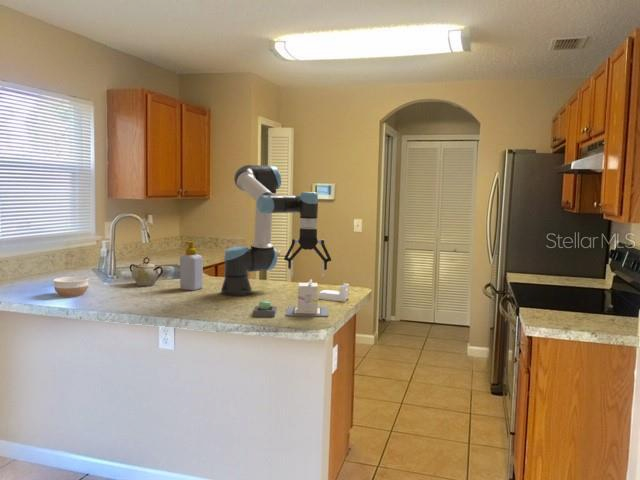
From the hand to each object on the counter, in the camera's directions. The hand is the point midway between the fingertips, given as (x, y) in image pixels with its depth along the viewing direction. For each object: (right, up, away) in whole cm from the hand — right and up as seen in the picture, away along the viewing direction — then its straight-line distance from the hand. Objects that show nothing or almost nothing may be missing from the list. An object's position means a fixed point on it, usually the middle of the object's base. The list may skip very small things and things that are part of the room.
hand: (307, 276), depth 230 cm
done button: (-18, -13, -4) cm, 23 cm away
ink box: (0, -15, +1) cm, 15 cm away
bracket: (+12, -13, +29) cm, 34 cm away
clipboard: (0, -16, +1) cm, 16 cm away
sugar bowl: (-89, -9, +58) cm, 107 cm away
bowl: (-116, -11, +29) cm, 120 cm away
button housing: (-18, -16, -4) cm, 24 cm away
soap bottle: (-62, -10, +48) cm, 79 cm away
